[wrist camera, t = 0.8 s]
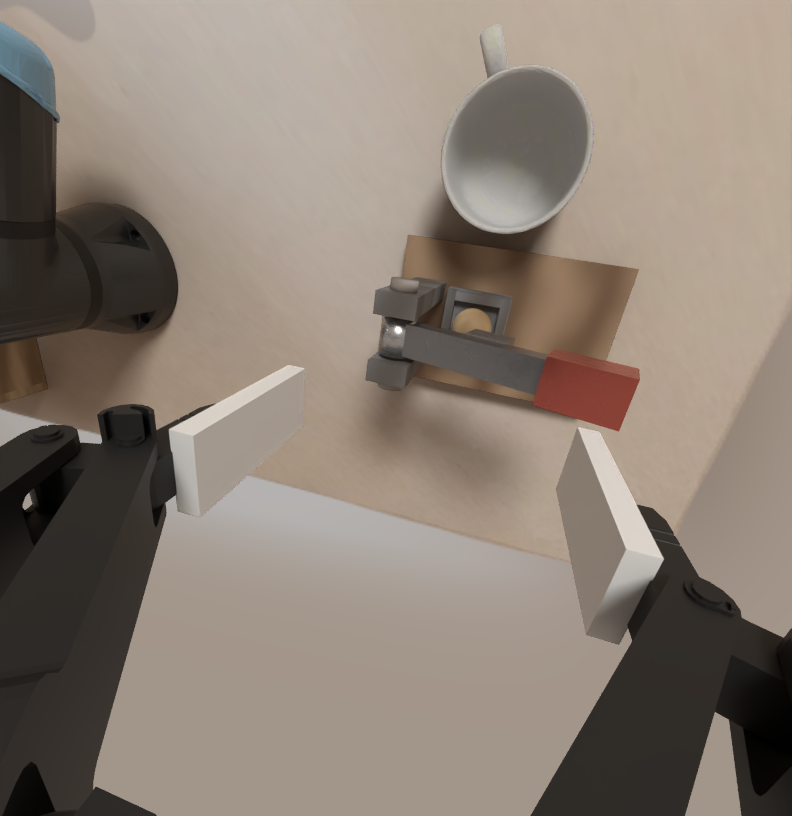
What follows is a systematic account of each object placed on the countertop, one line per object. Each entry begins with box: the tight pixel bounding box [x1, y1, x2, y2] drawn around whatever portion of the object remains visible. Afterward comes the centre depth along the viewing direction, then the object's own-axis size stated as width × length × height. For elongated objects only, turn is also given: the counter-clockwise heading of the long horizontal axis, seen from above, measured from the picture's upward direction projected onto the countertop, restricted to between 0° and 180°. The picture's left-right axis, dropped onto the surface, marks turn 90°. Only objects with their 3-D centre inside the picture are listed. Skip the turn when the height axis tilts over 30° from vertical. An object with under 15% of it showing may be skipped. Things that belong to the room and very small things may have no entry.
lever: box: [378, 315, 640, 431], centre depth 28 cm, size 17×3×5 cm, turn 82°
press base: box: [366, 235, 639, 402], centre depth 34 cm, size 21×14×16 cm, turn 82°
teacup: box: [441, 24, 594, 234], centre depth 32 cm, size 14×11×8 cm
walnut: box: [452, 308, 492, 334], centre depth 37 cm, size 4×4×4 cm
